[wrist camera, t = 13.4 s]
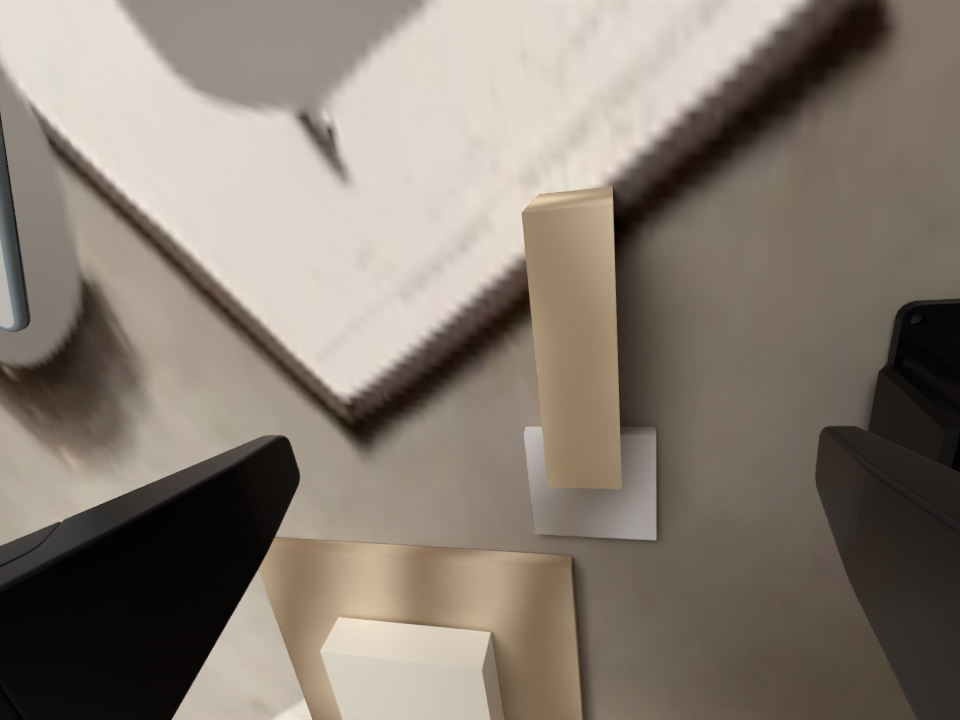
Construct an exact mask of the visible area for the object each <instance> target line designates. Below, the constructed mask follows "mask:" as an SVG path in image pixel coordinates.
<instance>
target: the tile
mask: <svg viewBox="0 0 960 720" xmlns="http://www.w3.org/2000/svg"><path fill="white" fill-rule="evenodd" d="M320 653H321V656H322V659H323V662H324V665H325V668H326V671H327V674H328V677H329V680H330V683H331V686H332V689H333V692H334V695H335V698H336V701H337V704H338V707H339V710H340V713H341V717H342V720H505V719H504V713H503V707H502V700H501V694H500V688H499V681H498V675H497V669H496V662H495V656H494V650H493V643H492V637H491V632H485V631H475V630H465V629H455V628H445V627H435V626H424V625H414V624H404V623H394V622H384V621H374V620H364V619H354V618H344V617H338V619H337V621H336V623H335V625H334V626H333V628H332V630H331V632H330V634H329V636H328V638H327V639H326V641H325V643H324V645H323V647H322V649H321V650H320Z"/></svg>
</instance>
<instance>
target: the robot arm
mask: <svg viewBox="0 0 960 720" xmlns="http://www.w3.org/2000/svg"><path fill="white" fill-rule="evenodd" d="M921 312H924V316H923V318H922V320H921V321H919V322H918V323H914V324H911V320H912V318H913V316H915V315H916V314H917V313H921ZM815 479H816V486H817V490H818V493H819V496H820V499H821V502H822V505H823V508H824V510H825V513H826V516H827V519H828V522H829V525H830V528H831V531H832V533H833V536H834V539H835V542H836V545H837V548H838V551H839V554H840V556H841V559H842V562H843V565H844V568H845V570H846V573H847V576H848V578H849V581H850V583H851V585H852V587H853V590H854V592H855V594H856V596H857V598H858V600H859V602H860V604H861V606H862V608H863V610H864V612H865V614H866V616H867V618H868V621H869V623H870V625H871V627H872V629H873V631H874V633H875V635H876V637H877V639H878V641H879V643H880V645H881V647H882V649H883V651H884V653H885V655H886V657H887V659H888V661H889V663H890V665H891V667H892V669H893V671H894V673H895V675H896V677H897V679H898V681H899V683H900V685H901V688H902V690H903V692H904V694H905V696H906V698H907V700H908V702H909V704H910V706H911V708H912V710H913V712H914V714H915V716H916V718H917V720H960V299H945V300H923V301H914V302H909V303H908V304H906V305H904V306H903V307H902V308H901V309H900V310H899V311H898V313H897V315H896V318H895V324H894V329H893V335H892V340H891V346H890V351H889V357H888V362H887V364H886V365H885V366H884V367H883V368H882V369H881V370H880V371H879V374H878V379H877V385H876V391H875V397H874V402H873V408H872V414H871V419H870V425H869V431H868V432H867V431H865V430H863V429H861V428H858V427H856V426H827V427H824V428H823V429H822V431H821V433H820V436H819V444H818V454H817V463H816V472H815ZM299 481H300V472H299V469H298V466H297V462H296V459H295V456H294V453H293V450H292V447H291V444H290V441H289V440H288V438H286V437H285V436H283V435H267V436H262V437H260V438H257V439H255V440H253V441H250V442H248V443H246V444H243V445H241V446H238V447H236V448H234V449H231V450H229V451H226V452H224V453H222V454H219V455H217V456H215V457H212V458H210V459H207V460H205V461H203V462H200V463H198V464H196V465H193V466H191V467H188V468H186V469H184V470H181V471H179V472H176V473H174V474H172V475H169V476H167V477H165V478H162V479H160V480H157V481H155V482H153V483H150V484H148V485H146V486H143V487H141V488H138V489H136V490H134V491H131V492H129V493H126V494H124V495H122V496H119V497H117V498H115V499H112V500H110V501H107V502H105V503H103V504H100V505H98V506H96V507H93V508H91V509H88V510H86V511H84V512H81V513H79V514H76V515H74V516H72V517H69V518H67V519H65V520H63V522H62V523H61V522H57V523H55V524H52V525H50V526H48V527H45V528H43V529H41V530H38V531H36V532H33V533H31V534H28V535H26V536H24V537H21V538H19V539H16V540H14V541H11V542H9V543H7V544H4V545H2V546H0V720H172V718H173V717H174V715H175V713H176V711H177V710H178V708H179V706H180V704H181V703H182V701H183V699H184V698H185V696H186V694H187V692H188V691H189V689H190V687H191V685H192V684H193V682H194V680H195V678H196V677H197V675H198V673H199V671H200V670H201V668H202V666H203V665H204V663H205V661H206V659H207V658H208V656H209V654H210V652H211V651H212V649H213V647H214V645H215V644H216V642H217V640H218V639H219V637H220V635H221V633H222V632H223V630H224V628H225V626H226V625H227V623H228V621H229V619H230V618H231V616H232V614H233V612H234V611H235V609H236V607H237V606H238V604H239V602H240V600H241V599H242V597H243V595H244V593H245V592H246V590H247V588H248V586H249V585H250V583H251V581H252V580H253V578H254V576H255V574H256V573H257V571H258V569H259V567H260V566H261V564H262V562H263V560H264V558H265V556H266V555H267V553H268V551H269V549H270V546H271V544H272V542H273V540H274V538H275V536H276V534H277V531H278V529H279V527H280V525H281V523H282V520H283V518H284V516H285V514H286V512H287V509H288V507H289V505H290V503H291V501H292V498H293V496H294V494H295V492H296V490H297V487H298V485H299Z"/></svg>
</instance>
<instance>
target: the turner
mask: <svg viewBox="0 0 960 720" xmlns="http://www.w3.org/2000/svg"><path fill="white" fill-rule="evenodd" d="M522 220H523V231H524V242H525V252H526V263H527V273H528V284H529V295H530V305H531V316H532V327H533V337H534V348H535V358H536V369H537V380H538V390H539V401H540V412H541V422H542V427H526V428H525V432H524V439H525V448H526V458H527V467H528V476H529V485H530V494H531V503H532V512H533V522H534V531H535V534H542V535H561V536H581V537H600V538H619V539H639V540H656V430H655V427H620V409H619V377H618V344H617V312H616V279H615V247H614V215H613V187H603V188H594V189H585V190H575V191H566V192H557V193H547V194H539V195H538V196H537V197H536V198H535V199H534V200H533V201H532V202H531V203H530V204H529V206H528V207H527V208H526V209H525V210H524V211H523V212H522Z"/></svg>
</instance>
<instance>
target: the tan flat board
mask: <svg viewBox="0 0 960 720" xmlns="http://www.w3.org/2000/svg"><path fill="white" fill-rule="evenodd" d="M258 570H259V573H260V576H261V579H262V581H263V584H264V587H265V590H266V593H267V595H268V598H269V601H270V604H271V606H272V609H273V612H274V615H275V617H276V620H277V623H278V626H279V628H280V631H281V634H282V637H283V639H284V642H285V645H286V648H287V650H288V653H289V656H290V659H291V662H292V664H293V667H294V670H295V673H296V675H297V678H298V681H299V684H300V686H301V689H302V692H303V695H304V697H305V700H306V703H307V706H308V708H309V711H310V714H311V717H312V719H313V720H342V717H341V713H340V710H339V707H338V704H337V701H336V698H335V695H334V692H333V689H332V686H331V683H330V680H329V677H328V674H327V671H326V668H325V665H324V662H323V659H322V656H321V653H320V650H321V649H322V647H323V645H324V643H325V641H326V639H327V638H328V636H329V634H330V632H331V630H332V628H333V626H334V625H335V623H336V621H337V619H338V617H344V618H354V619H364V620H374V621H384V622H394V623H404V624H414V625H424V626H435V627H445V628H455V629H465V630H475V631H485V632H491V637H492V643H493V650H494V656H495V662H496V669H497V675H498V681H499V688H500V694H501V700H502V707H503V713H504V719H505V720H584V713H583V699H582V686H581V672H580V658H579V645H578V631H577V617H576V604H575V590H574V576H573V563H572V556H569V555H553V554H536V553H520V552H504V551H487V550H471V549H455V548H439V547H422V546H406V545H390V544H373V543H357V542H341V541H325V540H308V539H292V538H276V537H275V538H274V540H273V542H272V544H271V546H270V549H269V551H268V553H267V555H266V556H265V558H264V560H263V562H262V564H261V566H260V567H259V569H258Z"/></svg>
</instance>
